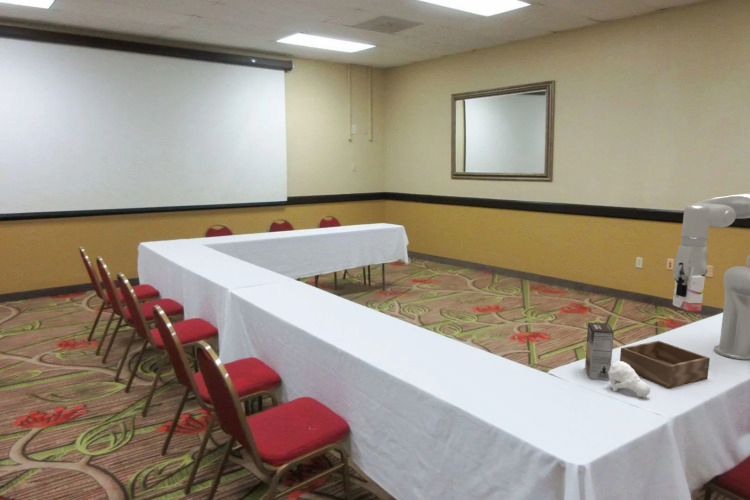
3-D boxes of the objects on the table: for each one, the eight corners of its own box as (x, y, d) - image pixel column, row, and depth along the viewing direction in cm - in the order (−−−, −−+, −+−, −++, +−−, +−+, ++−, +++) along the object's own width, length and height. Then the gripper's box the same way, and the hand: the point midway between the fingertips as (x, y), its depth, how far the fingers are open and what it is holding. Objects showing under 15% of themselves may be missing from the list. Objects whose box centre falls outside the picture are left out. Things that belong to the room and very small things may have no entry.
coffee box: (584, 368, 178) (587, 321, 175) (604, 369, 176) (608, 323, 174) (589, 379, 169) (592, 330, 166) (610, 381, 167) (614, 331, 165)
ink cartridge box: (702, 311, 177) (707, 267, 174) (688, 311, 176) (692, 267, 174) (685, 304, 185) (689, 262, 183) (671, 304, 185) (676, 262, 182)
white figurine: (619, 356, 164) (658, 372, 155) (614, 382, 166) (652, 399, 157) (607, 361, 160) (647, 377, 151) (603, 386, 162) (641, 404, 153)
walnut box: (656, 360, 185) (658, 340, 184) (707, 379, 169) (709, 358, 168) (619, 368, 178) (620, 347, 177) (668, 388, 162) (670, 366, 161)
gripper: (700, 239, 184) (694, 290, 187) (665, 241, 177) (660, 294, 180) (722, 242, 177) (715, 295, 180) (686, 245, 170) (680, 300, 173)
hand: (688, 294), depth 180 cm, fingers closed on ink cartridge box, 6 cm apart
